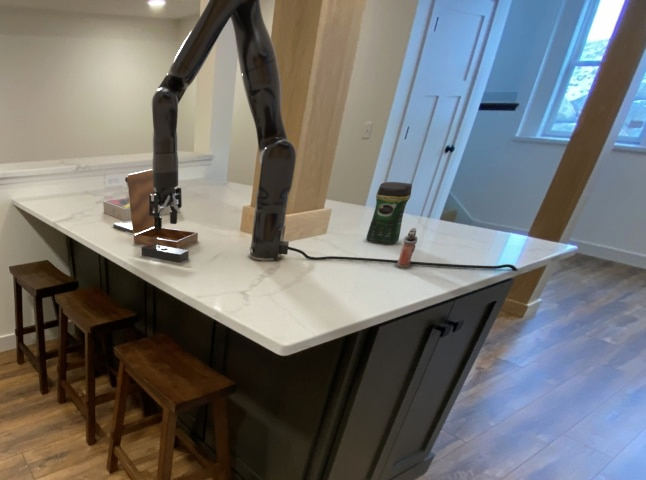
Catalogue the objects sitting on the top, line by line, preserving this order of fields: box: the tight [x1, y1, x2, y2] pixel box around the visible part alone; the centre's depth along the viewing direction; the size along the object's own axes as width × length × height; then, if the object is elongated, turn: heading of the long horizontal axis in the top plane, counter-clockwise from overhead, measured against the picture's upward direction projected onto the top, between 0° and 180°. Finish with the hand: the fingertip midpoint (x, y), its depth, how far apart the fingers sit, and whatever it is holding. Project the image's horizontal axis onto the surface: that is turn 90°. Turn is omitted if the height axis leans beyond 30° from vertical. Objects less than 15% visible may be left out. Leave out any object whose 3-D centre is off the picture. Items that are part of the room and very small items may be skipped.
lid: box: [124, 168, 155, 235], centre depth 158 cm, size 19×14×5 cm
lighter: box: [396, 227, 419, 270], centre depth 128 cm, size 8×3×10 cm, turn 148°
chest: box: [133, 226, 199, 249], centre depth 158 cm, size 18×14×4 cm
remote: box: [141, 244, 190, 264], centre depth 143 cm, size 15×5×4 cm, turn 52°
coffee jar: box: [365, 181, 413, 245], centre depth 146 cm, size 10×8×19 cm
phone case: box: [113, 220, 151, 234], centre depth 178 cm, size 9×2×16 cm
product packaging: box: [102, 193, 181, 222], centre depth 203 cm, size 22×28×5 cm
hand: (166, 226), depth 139 cm, fingers open, 8 cm apart
